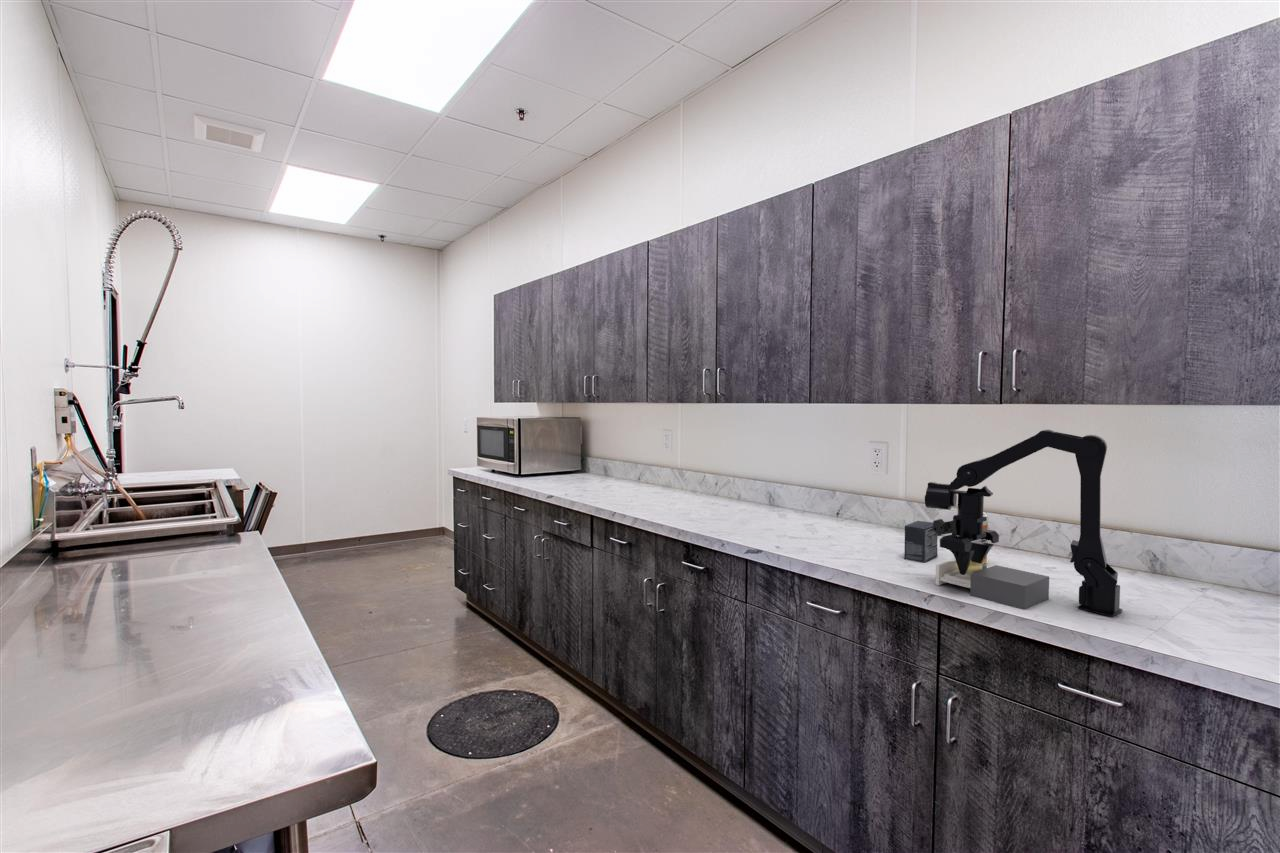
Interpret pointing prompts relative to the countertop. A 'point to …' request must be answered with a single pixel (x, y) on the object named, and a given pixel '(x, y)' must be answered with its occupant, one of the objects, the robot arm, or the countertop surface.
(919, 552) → the small box
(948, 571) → the tray
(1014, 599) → the block
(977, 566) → the disc
